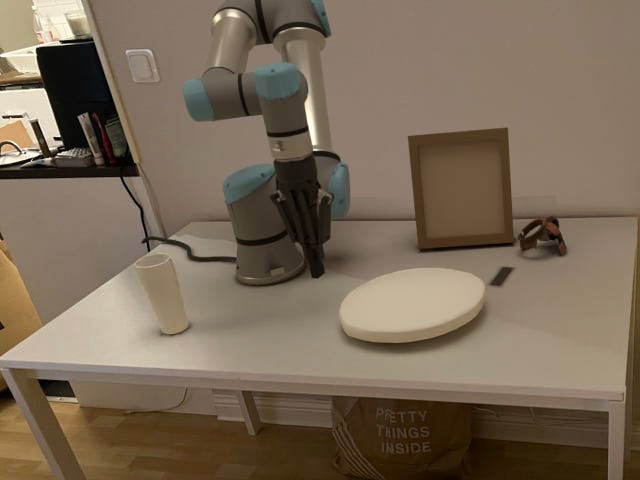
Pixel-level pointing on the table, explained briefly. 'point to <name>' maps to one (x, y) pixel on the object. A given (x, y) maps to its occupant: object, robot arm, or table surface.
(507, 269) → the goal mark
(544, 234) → the brown curved piece
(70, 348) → the table surface
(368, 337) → the plate
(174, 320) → the drinking glass
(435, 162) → the photo frame
